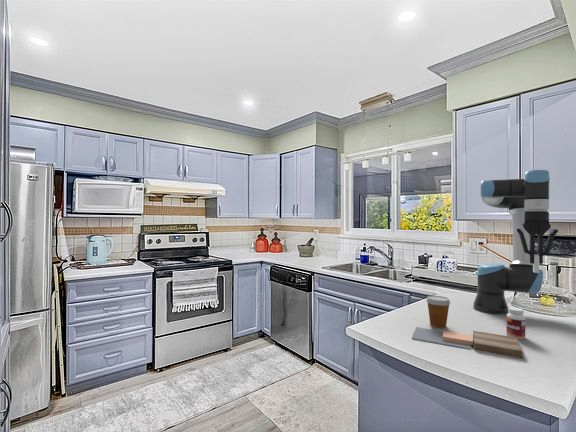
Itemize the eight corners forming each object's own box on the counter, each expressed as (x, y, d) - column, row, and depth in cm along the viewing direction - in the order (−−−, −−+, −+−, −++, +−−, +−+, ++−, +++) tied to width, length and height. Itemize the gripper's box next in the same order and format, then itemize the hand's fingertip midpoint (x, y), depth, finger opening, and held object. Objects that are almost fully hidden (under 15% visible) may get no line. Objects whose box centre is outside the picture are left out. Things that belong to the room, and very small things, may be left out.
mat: (416, 328, 137) (416, 327, 137) (470, 336, 128) (470, 335, 128) (411, 339, 125) (411, 338, 125) (470, 349, 115) (470, 348, 115)
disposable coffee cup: (422, 325, 140) (423, 298, 140) (430, 320, 147) (430, 294, 147) (446, 331, 134) (446, 302, 134) (453, 325, 141) (453, 298, 141)
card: (443, 334, 129) (443, 330, 129) (472, 339, 124) (472, 335, 124) (442, 340, 123) (442, 336, 123) (472, 345, 118) (472, 341, 118)
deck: (473, 337, 127) (473, 330, 127) (516, 344, 120) (516, 337, 120) (474, 350, 115) (474, 343, 115) (522, 358, 108) (522, 351, 108)
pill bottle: (503, 335, 129) (503, 307, 129) (511, 332, 132) (511, 305, 132) (520, 340, 124) (520, 312, 124) (528, 337, 127) (528, 309, 127)
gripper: (517, 210, 123) (516, 272, 123) (560, 210, 117) (560, 275, 117) (514, 210, 130) (514, 269, 130) (555, 210, 123) (555, 272, 123)
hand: (536, 272), depth 123 cm, fingers closed
